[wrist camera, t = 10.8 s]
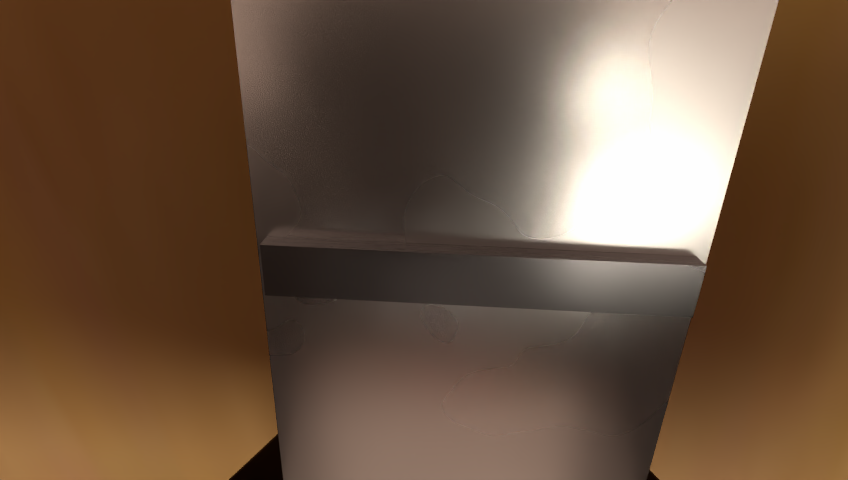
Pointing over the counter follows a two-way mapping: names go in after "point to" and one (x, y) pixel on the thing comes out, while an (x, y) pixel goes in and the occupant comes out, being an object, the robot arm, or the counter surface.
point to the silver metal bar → (486, 223)
